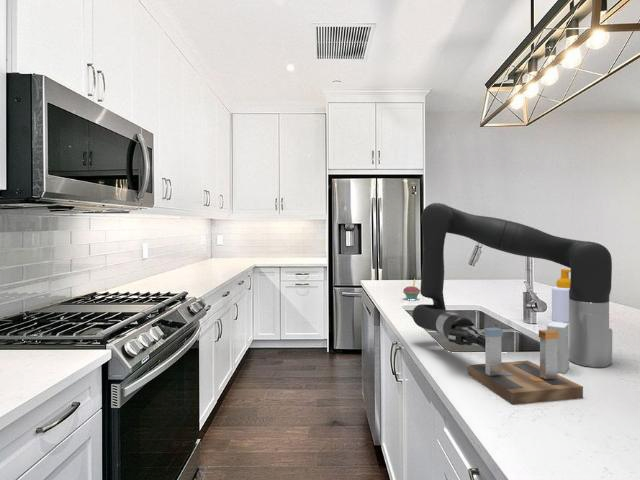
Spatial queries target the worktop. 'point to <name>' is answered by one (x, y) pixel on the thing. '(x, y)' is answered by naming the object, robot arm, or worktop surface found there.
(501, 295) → the worktop surface
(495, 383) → the switch base
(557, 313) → the soap bottle
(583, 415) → the worktop surface
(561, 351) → the skincare box
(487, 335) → the lever blue
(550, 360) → the lever orange
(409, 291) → the cupcake
